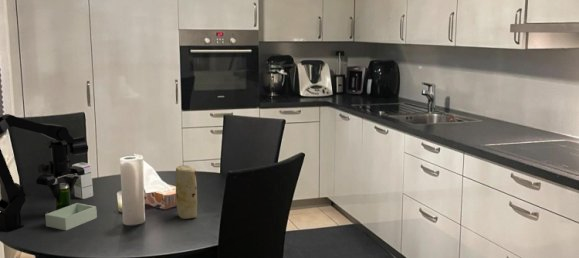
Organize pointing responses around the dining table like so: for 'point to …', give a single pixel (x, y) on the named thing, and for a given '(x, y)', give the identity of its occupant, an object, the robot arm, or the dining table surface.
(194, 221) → the dining table surface
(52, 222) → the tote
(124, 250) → the dining table surface
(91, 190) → the syrup box
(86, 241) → the dining table surface
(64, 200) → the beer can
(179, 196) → the food model
